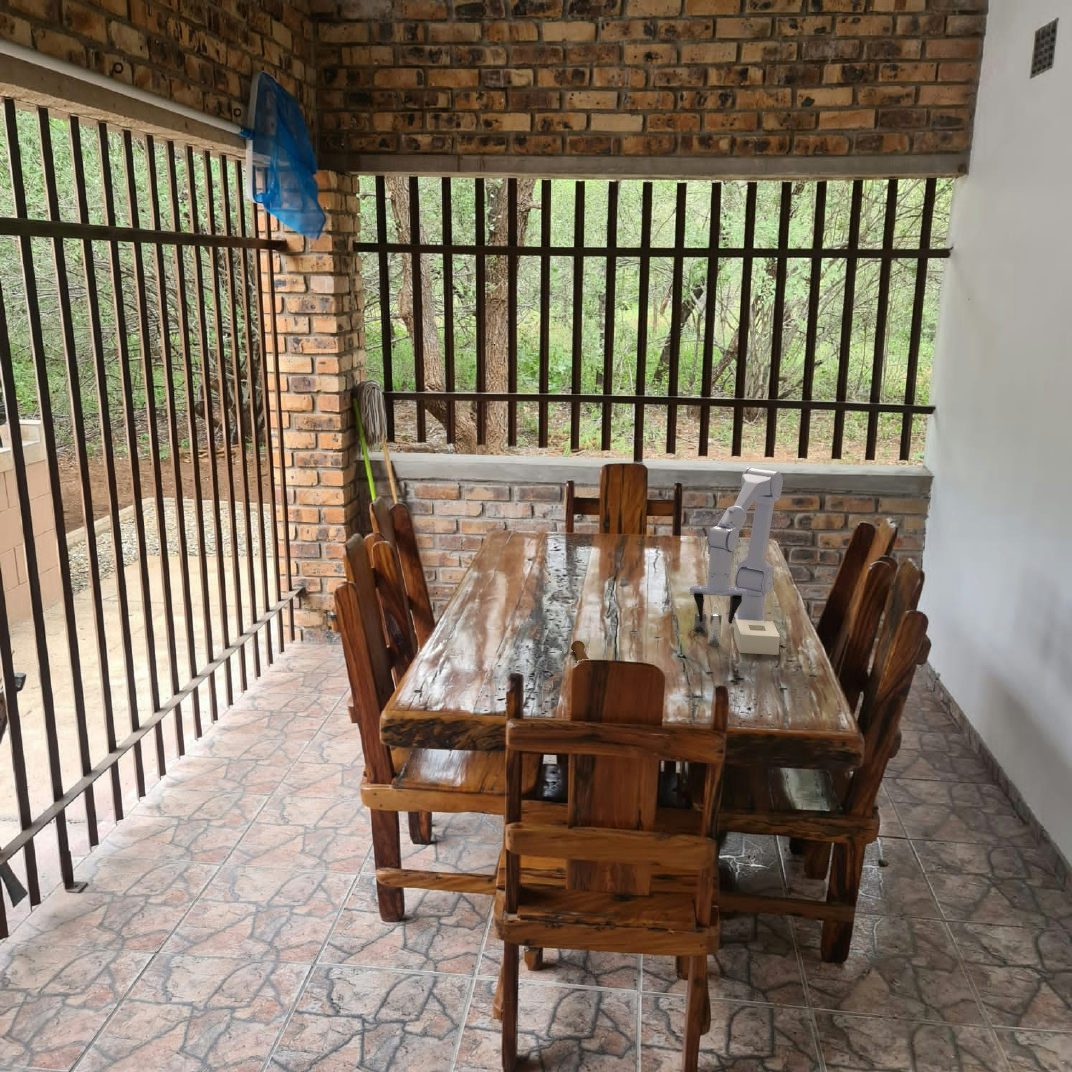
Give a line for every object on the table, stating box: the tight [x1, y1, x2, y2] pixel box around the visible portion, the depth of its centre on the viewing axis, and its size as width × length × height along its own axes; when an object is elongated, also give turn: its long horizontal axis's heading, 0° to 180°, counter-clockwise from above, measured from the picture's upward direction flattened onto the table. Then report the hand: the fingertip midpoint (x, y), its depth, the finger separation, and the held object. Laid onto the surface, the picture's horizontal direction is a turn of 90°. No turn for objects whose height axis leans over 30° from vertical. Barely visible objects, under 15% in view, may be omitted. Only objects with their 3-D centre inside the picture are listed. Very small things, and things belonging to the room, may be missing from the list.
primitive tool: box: [570, 640, 590, 661], centre depth 238 cm, size 19×6×4 cm, turn 9°
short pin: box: [693, 612, 707, 633], centre depth 265 cm, size 3×3×4 cm
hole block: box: [733, 618, 781, 656], centre depth 254 cm, size 12×10×5 cm
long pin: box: [707, 612, 723, 646], centre depth 254 cm, size 3×3×8 cm
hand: (715, 621), depth 254 cm, fingers open, 7 cm apart
